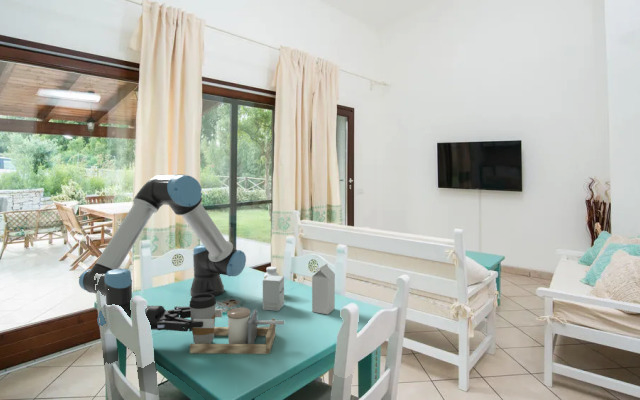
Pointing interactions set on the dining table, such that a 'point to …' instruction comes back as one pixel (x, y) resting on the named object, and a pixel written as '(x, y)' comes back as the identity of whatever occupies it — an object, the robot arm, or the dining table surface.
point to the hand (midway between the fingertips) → (217, 318)
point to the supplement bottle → (271, 272)
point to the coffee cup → (203, 317)
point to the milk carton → (323, 290)
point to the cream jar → (238, 325)
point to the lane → (238, 348)
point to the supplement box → (273, 293)
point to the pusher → (253, 326)
